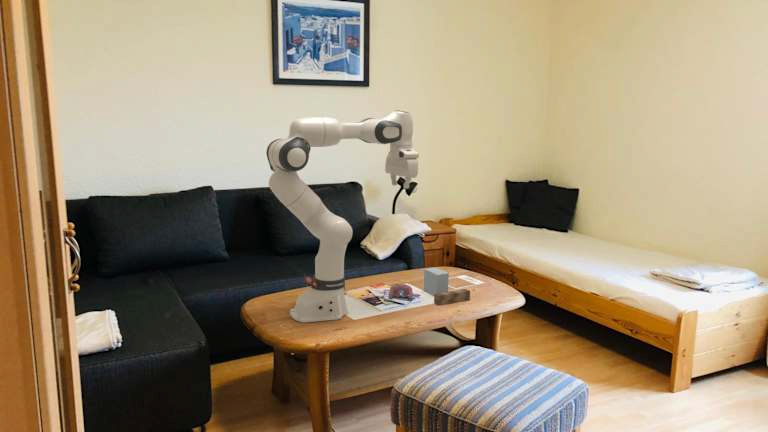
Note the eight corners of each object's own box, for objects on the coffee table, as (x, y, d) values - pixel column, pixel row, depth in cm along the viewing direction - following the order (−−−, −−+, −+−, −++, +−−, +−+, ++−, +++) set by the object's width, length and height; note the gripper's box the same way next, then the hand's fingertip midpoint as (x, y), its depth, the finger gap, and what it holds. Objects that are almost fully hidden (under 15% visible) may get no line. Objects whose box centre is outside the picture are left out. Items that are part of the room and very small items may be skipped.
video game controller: (412, 301, 243) (413, 285, 245) (412, 299, 239) (412, 283, 241) (389, 300, 244) (390, 283, 246) (388, 298, 240) (389, 282, 242)
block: (436, 297, 244) (437, 274, 242) (423, 290, 253) (424, 269, 251) (447, 295, 247) (448, 273, 245) (435, 289, 255) (435, 267, 254)
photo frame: (485, 282, 264) (456, 288, 254) (485, 284, 265) (456, 290, 255) (464, 274, 276) (435, 280, 266) (464, 276, 277) (435, 282, 267)
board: (438, 305, 234) (438, 296, 233) (434, 303, 236) (434, 293, 236) (469, 299, 241) (470, 290, 241) (465, 297, 244) (465, 288, 243)
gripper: (381, 150, 235) (381, 183, 237) (407, 154, 217) (406, 190, 219) (395, 150, 238) (394, 183, 240) (421, 154, 220) (420, 189, 222)
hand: (400, 186), depth 230 cm, fingers open, 8 cm apart
